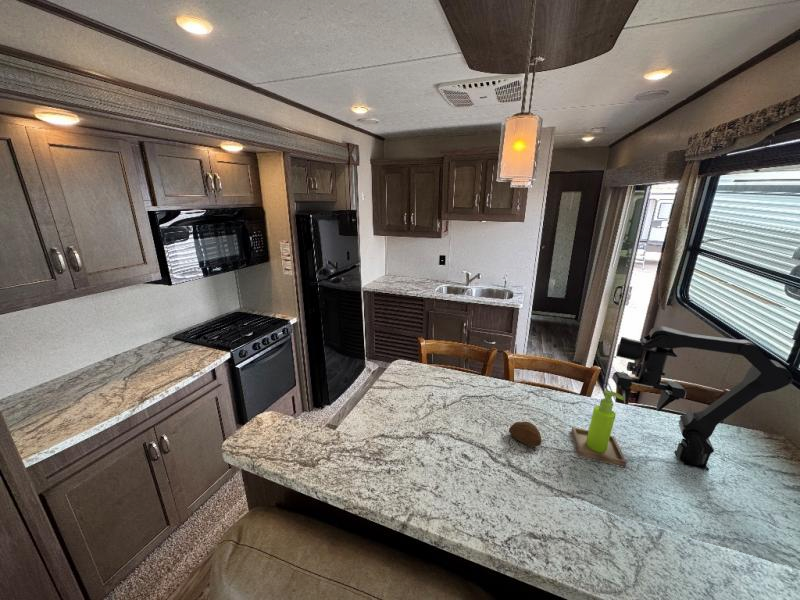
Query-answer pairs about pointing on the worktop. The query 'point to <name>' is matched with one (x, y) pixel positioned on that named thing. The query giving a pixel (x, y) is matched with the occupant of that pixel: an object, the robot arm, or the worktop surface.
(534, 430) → the potato
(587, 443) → the soap dispenser
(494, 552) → the worktop surface
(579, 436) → the tray
